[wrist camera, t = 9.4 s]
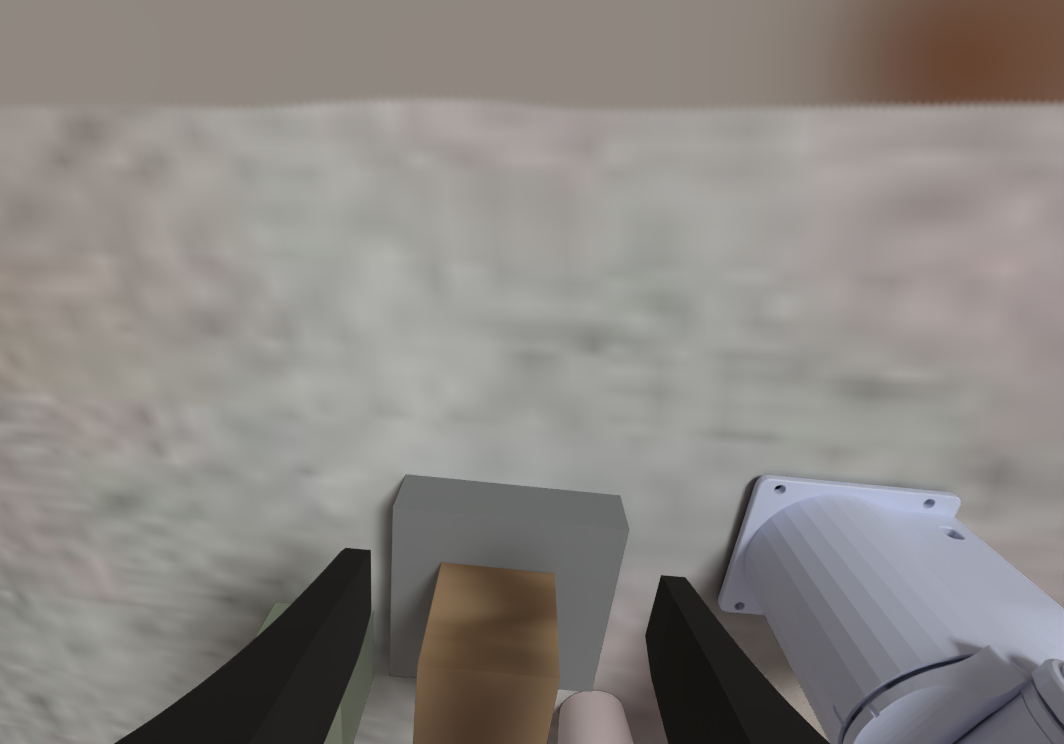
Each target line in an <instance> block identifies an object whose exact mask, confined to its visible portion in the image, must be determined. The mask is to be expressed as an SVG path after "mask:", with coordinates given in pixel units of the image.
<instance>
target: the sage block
mask: <svg viewBox="0 0 1064 744" xmlns="http://www.w3.org/2000/svg"><path fill="white" fill-rule="evenodd" d="M290 605H291V604H290V603H278V602H276V603H275V604H274V606H273V608H272V609H271V611H270V613H269V615H268V616H267V618H266V620H265V621H264V623H263V625H262V627H261V628H260V630H259V632H258V633H257V635H256V637H257V636H258V635H259V634H260V633H262V632H263V631H264V630H265V629H266V628H267V627H268V626H269V625H270V624H271V623H272V622H274V621H275V620H276V619H277V618H278V617H279V616H280V615H281V614H282V613H283V612H284V611H285V610H286V609H287V608H288V607H289V606H290ZM256 637H255V638H256ZM373 678H374V666H373V610H371V616H370V620H369V623H368V627H367V630H366V634H365V638H364V641H363V644H362V648H361V651H360V655H359V658H358V660H357V663H356V665H355V668H354V670H353V673H352V675H351V678H350V680H349V683H348V685H347V688H346V690H345V693H344V695H343V698H342V700H341V703H340V705H339V708H338V710H337V713H336V715H335V718H334V720H333V723H332V725H331V727H330V730H329V732H328V735H327V737H326V740H325V742H324V744H353V743H354V739H355V736H356V733H357V730H358V726H359V723H360V720H361V717H362V713H363V710H364V707H365V704H366V700H367V697H368V694H369V691H370V687H371V684H372V681H373Z"/></svg>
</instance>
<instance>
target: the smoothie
mask: <svg viewBox="0 0 1064 744" xmlns="http://www.w3.org/2000/svg"><path fill="white" fill-rule="evenodd" d="M557 744H634V743H633V740H632V736H631V733H630V730H629V726H628V723H627V719H626V716H625V713H624V709H623V706H622V704H621V702H620V701H619V700H618V699H617V698H616V697H615V696H613V695H611V694H609V693H606V692H602V691H592V692H585V691H583V692H580V693H577V694H574V695H572V696H571V697H569V698H568V699H567V700H565V701H564V703H563V704H562V706H561V708H560V714H559V728H558V742H557Z"/></svg>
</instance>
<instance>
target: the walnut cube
mask: <svg viewBox="0 0 1064 744" xmlns="http://www.w3.org/2000/svg"><path fill="white" fill-rule="evenodd" d="M559 682H560V666H559V647H558V627H557V607H556V587H555V574H554V573H544V572H534V571H524V570H514V569H504V568H495V567H485V566H475V565H465V564H455V563H445V562H441V567H440V571H439V575H438V580H437V584H436V588H435V593H434V597H433V601H432V605H431V610H430V614H429V618H428V623H427V627H426V631H425V636H424V640H423V644H422V649H421V653H420V657H419V661H418V667H417V684H416V701H415V718H414V736H413V744H547V740H548V735H549V730H550V725H551V720H552V715H553V711H554V706H555V701H556V696H557V691H558V686H559Z"/></svg>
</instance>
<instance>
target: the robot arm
mask: <svg viewBox="0 0 1064 744" xmlns="http://www.w3.org/2000/svg"><path fill="white" fill-rule="evenodd" d="M778 485H782V486H781V487H780V488H779V489H775V487H776V486H778ZM774 489H775V490H774ZM926 500H927V502H925V501H926ZM924 502H925V503H924ZM960 504H961V502H960V499H959V498H958V497H957V496H955V495H954V494H953V493H950V492H941V491H931V490H920V489H910V488H899V487H889V486H878V485H868V484H857V483H847V482H836V481H826V480H815V479H805V478H794V477H784V476H773V475H764V476H762V477H760V478H759V479H758V480H757V481H756V483H755V486H754V489H753V492H752V495H751V498H750V501H749V504H748V507H747V510H746V514H745V517H744V520H743V523H742V526H741V529H740V532H739V535H738V538H737V541H736V545H735V548H734V551H733V554H732V557H731V560H730V563H729V566H728V569H727V572H726V576H725V579H724V582H723V585H722V588H721V591H720V594H719V597H718V604H719V606H720V608H721V610H723V611H725V612H732V613H744V614H756V615H764V616H765V618H766V620H767V622H768V624H769V626H770V628H771V629H772V631H773V633H774V635H775V637H776V639H777V641H778V643H779V645H780V647H781V649H782V651H783V653H784V655H785V657H786V659H787V661H788V663H789V665H790V666H791V668H792V670H793V672H794V674H795V676H796V678H797V680H798V682H799V684H800V686H801V688H802V690H803V692H804V694H805V696H806V698H807V700H808V702H809V703H810V705H811V707H812V709H813V711H814V713H815V715H816V717H817V719H818V721H819V723H820V725H821V727H822V729H823V731H824V733H825V735H826V737H827V738H828V740H829V742H830V743H829V742H828V741H827V740H826V739H825V738H824V737H822V736H821V735H820V734H819V733H818V732H817V731H816V730H815V729H814V728H813V727H812V726H811V725H810V724H809V723H808V722H807V721H806V720H805V719H804V718H803V717H802V716H801V715H800V714H799V713H798V712H797V711H796V710H795V709H794V708H793V707H792V706H791V705H790V704H789V703H788V702H787V701H786V700H785V699H784V698H783V697H782V695H781V694H780V693H779V692H778V691H777V690H776V689H775V688H774V687H773V686H772V685H771V683H770V682H769V681H768V680H767V679H766V678H765V677H764V676H763V674H762V673H761V672H760V671H759V670H758V669H757V668H756V667H755V665H754V664H753V663H752V662H751V661H750V659H749V658H748V657H747V656H746V655H745V653H744V652H743V651H742V650H741V648H740V647H739V646H738V645H737V644H736V642H735V641H734V640H733V639H732V637H731V636H730V635H729V634H728V632H727V631H726V630H725V629H724V627H723V626H722V625H721V624H720V622H719V621H718V620H717V618H716V617H715V616H714V614H713V613H712V612H711V611H710V609H709V608H708V607H707V605H706V604H705V603H704V601H703V600H702V599H701V597H700V596H699V595H698V593H697V592H696V591H695V589H694V588H693V587H692V586H691V584H690V583H689V582H688V580H687V579H686V578H685V577H675V576H663V575H661V578H660V582H659V585H658V589H657V593H656V597H655V601H654V604H653V608H652V612H651V616H650V620H649V623H648V627H647V631H646V635H645V637H646V644H647V651H648V659H649V665H650V672H651V678H652V682H653V686H654V690H655V694H656V698H657V702H658V706H659V710H660V714H661V717H662V721H663V725H664V729H665V732H666V736H667V740H668V744H1064V609H1063V608H1062V607H1061V606H1060V605H1059V604H1057V603H1056V602H1055V601H1054V600H1053V599H1051V598H1050V597H1049V596H1048V595H1047V594H1046V593H1044V592H1043V591H1042V590H1041V589H1040V588H1038V587H1037V586H1036V585H1035V584H1034V583H1032V582H1031V581H1030V580H1029V579H1028V578H1026V577H1025V576H1024V575H1023V574H1022V573H1020V572H1019V571H1018V570H1017V569H1016V568H1015V567H1013V566H1012V565H1011V564H1010V563H1009V562H1007V561H1006V560H1005V559H1004V558H1003V557H1001V556H1000V555H999V554H998V553H997V552H995V551H994V550H993V549H992V548H991V547H989V546H988V545H987V544H986V543H985V542H983V541H982V540H981V539H980V538H979V537H978V536H976V535H975V534H974V533H973V532H972V531H970V530H969V529H968V528H967V527H966V526H964V525H963V524H962V523H961V522H960V521H958V520H957V519H956V518H955V515H956V513H957V511H958V509H959V507H960ZM738 602H740V603H738ZM736 603H738V604H736ZM370 616H371V550H362V549H351V548H345V549H344V550H342V551H341V552H340V553H339V554H338V555H337V556H336V558H335V559H334V560H333V561H332V562H331V563H330V564H329V565H328V566H327V568H326V569H325V570H324V571H323V572H322V573H321V574H320V575H319V576H318V577H317V578H316V579H315V580H314V582H313V583H312V584H311V585H310V586H309V587H308V588H307V589H306V590H305V591H304V592H303V593H302V594H301V595H300V596H299V597H298V598H297V599H296V600H295V601H294V602H293V603H292V604H291V605H290V606H289V607H288V608H287V609H286V610H285V611H284V612H283V613H282V614H281V615H280V616H279V617H278V618H277V619H276V620H275V621H274V622H272V623H271V624H270V625H269V626H268V627H267V628H266V629H265V630H264V631H263V632H262V633H260V634H259V635H258V636H257V637H256V638H255V639H254V640H253V641H252V642H251V643H249V644H248V645H247V646H246V647H245V648H244V649H243V650H241V651H240V652H239V653H238V654H237V655H236V656H234V657H233V658H232V659H231V660H230V661H228V662H227V663H226V664H225V665H224V666H222V667H221V668H220V669H219V670H217V671H216V672H215V673H214V674H212V675H211V676H210V677H209V678H207V679H206V680H205V681H204V682H202V683H201V684H200V685H198V686H197V687H196V688H194V689H193V690H192V691H190V692H189V693H187V694H186V695H185V696H183V697H182V698H181V699H179V700H178V701H177V702H175V703H174V704H173V705H171V706H170V707H168V708H167V709H166V710H164V711H163V712H161V713H160V714H159V715H157V716H156V717H154V718H153V719H151V720H150V721H148V722H147V723H145V724H144V725H142V726H141V727H139V728H138V729H136V730H135V731H133V732H132V733H130V734H128V735H127V736H125V737H124V738H122V739H121V740H119V741H118V742H116V743H115V744H324V742H325V740H326V737H327V735H328V732H329V730H330V727H331V725H332V723H333V720H334V718H335V715H336V713H337V710H338V708H339V705H340V703H341V700H342V698H343V695H344V693H345V690H346V688H347V685H348V683H349V680H350V678H351V675H352V673H353V670H354V668H355V665H356V663H357V660H358V658H359V655H360V651H361V648H362V644H363V641H364V638H365V634H366V630H367V627H368V623H369V620H370Z"/></svg>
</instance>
